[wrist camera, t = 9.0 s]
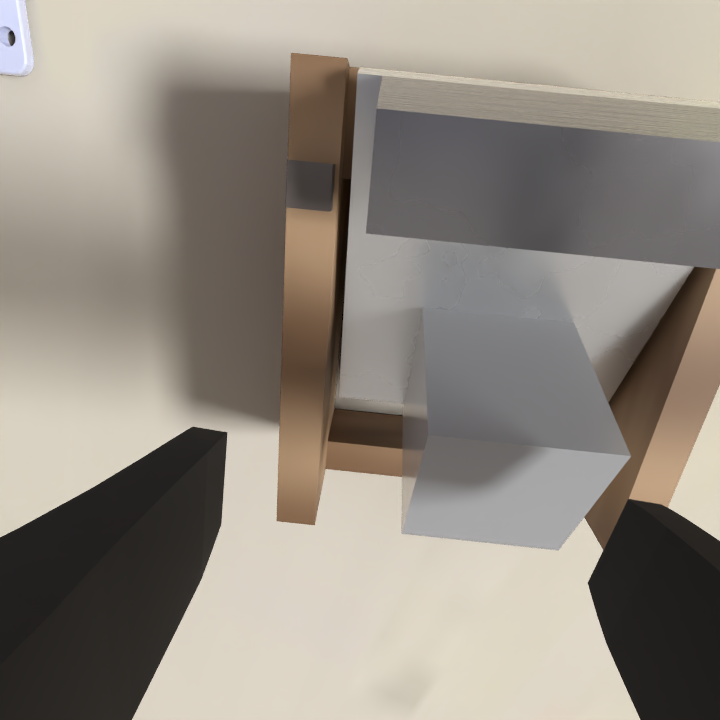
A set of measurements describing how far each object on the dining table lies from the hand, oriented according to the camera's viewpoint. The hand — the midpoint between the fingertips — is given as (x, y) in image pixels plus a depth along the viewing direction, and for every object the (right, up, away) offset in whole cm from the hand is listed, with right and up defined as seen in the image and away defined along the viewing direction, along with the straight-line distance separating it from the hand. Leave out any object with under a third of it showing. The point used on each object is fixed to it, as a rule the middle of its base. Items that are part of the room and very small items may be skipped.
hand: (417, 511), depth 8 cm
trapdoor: (+3, +5, +4) cm, 7 cm away
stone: (+3, +2, +6) cm, 7 cm away
